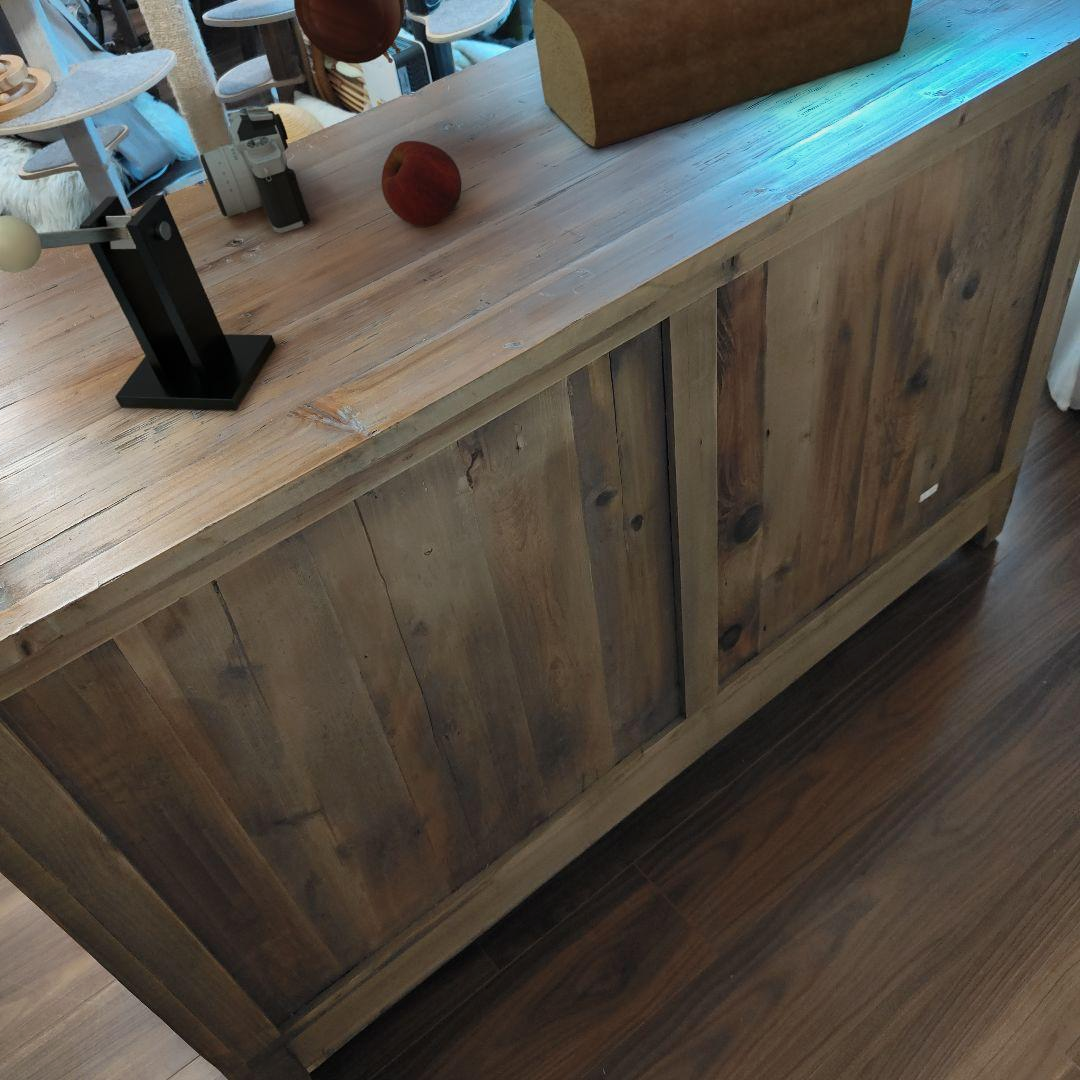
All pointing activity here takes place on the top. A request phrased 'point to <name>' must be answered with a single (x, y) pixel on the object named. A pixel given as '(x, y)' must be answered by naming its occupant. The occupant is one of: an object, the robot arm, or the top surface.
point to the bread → (695, 55)
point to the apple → (421, 183)
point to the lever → (54, 240)
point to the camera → (256, 170)
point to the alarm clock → (351, 27)
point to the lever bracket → (173, 318)
